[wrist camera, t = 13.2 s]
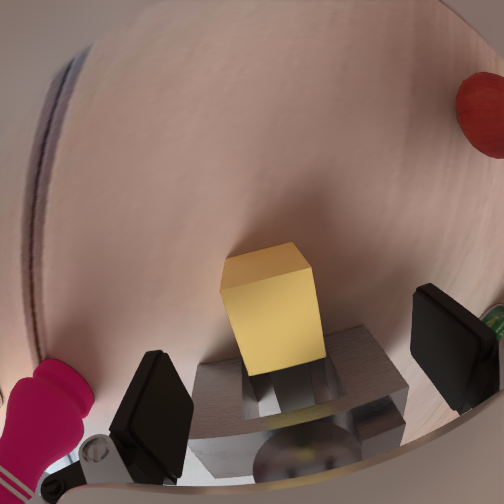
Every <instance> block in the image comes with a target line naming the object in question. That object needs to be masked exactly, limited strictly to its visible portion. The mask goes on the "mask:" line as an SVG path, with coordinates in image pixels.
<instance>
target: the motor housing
mask: <svg viewBox="0 0 504 504" xmlns="http://www.w3.org/2000/svg"><path fill="white" fill-rule="evenodd" d="M323 339H324V346H325V353H326V357H324V360H325V368H326V376H327V384H328V388H329V391H330V393H331V396H332V399H333V400H330V401H327V402H324V403H320V404H316V405H313V406H309V407H305V408H301V409H297V410H293V411H289V412H284V413H280V414H275V415H270V416H265V417H259V407H258V401H257V399H256V396H255V393H254V391H253V388H252V385H251V382H250V380H249V377H248V374H247V371H246V368H245V366H244V363H243V360H242V357H240V358H235V359H229V360H224V361H219V362H213V363H207V364H201V365H198V366H197V371H196V376H195V381H194V386H193V391H192V397H191V399H192V401H193V404H194V412H193V417H192V422H191V428H190V433H189V438H188V443H187V445H188V446H189V448H190V449H191V450H192V452H193V453H194V454H195V455H196V457H197V458H198V459H199V460H200V461H201V463H202V464H203V465H204V466H205V467H206V469H207V470H208V471H209V472H210V473H211V474H212V476H213V477H214V478H230V477H241V476H250V475H253V477H254V480H255V483H264V482H272V481H279V480H285V479H291V478H296V477H301V476H306V475H311V474H316V473H320V472H324V471H328V470H332V469H336V468H339V467H343V466H346V465H350V464H353V463H356V462H359V461H362V460H365V459H368V458H371V457H374V456H377V455H380V454H382V453H385V452H387V451H390V450H393V449H395V448H397V447H400V443H401V440H402V437H403V433H404V429H405V425H406V422H405V421H404V419H403V415H404V411H405V406H406V401H407V395H408V390H409V385H408V384H407V382H406V381H405V379H404V378H403V377H402V375H401V374H400V372H399V371H398V370H397V368H396V367H395V365H394V364H393V363H392V361H391V360H390V359H389V357H388V356H387V354H386V353H385V352H384V350H383V349H382V348H381V346H380V345H379V344H378V342H377V341H376V340H375V338H374V337H373V336H372V334H371V333H370V332H369V330H368V329H367V328H366V326H365V325H361V326H358V327H355V328H352V329H348V330H345V331H342V332H339V333H335V334H332V335H329V336H325V337H323Z"/></svg>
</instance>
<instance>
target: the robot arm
mask: <svg viewBox="0 0 504 504" xmlns="http://www.w3.org/2000/svg"><path fill="white" fill-rule="evenodd" d="M496 338H497V333H496V332H495V331H494V330H492V329H491V328H490V327H489V326H487V325H486V324H485V323H484V322H482V321H481V320H480V319H479V318H477V317H476V316H475V315H474V314H472V313H471V312H470V311H468V310H467V309H466V308H464V307H463V306H462V305H461V304H459V303H458V302H457V301H455V300H454V299H453V298H451V297H450V296H448V295H447V294H446V293H444V292H443V291H442V290H440V289H439V288H437V287H436V286H435V285H433V284H432V283H428V284H425V285H422V286H419V287H418V288H417V289H416V292H414V294H413V311H412V330H411V343H410V352H411V355H412V356H413V358H414V359H415V360H416V362H417V363H418V364H419V366H420V367H421V368H422V370H423V371H424V372H425V373H426V375H427V376H428V377H429V379H430V380H431V381H432V383H433V384H434V386H435V387H436V388H437V390H438V391H439V392H440V394H441V395H442V396H443V398H444V399H445V401H446V402H447V403H448V405H449V406H450V408H451V409H452V410H454V411H455V410H456V411H457V412H458V413H459V415H460V417H458V418H456V419H454V420H453V421H451V422H449V423H447V424H446V425H444V426H442V427H440V428H438V429H436V430H434V431H432V432H430V433H428V434H426V435H424V436H422V437H420V438H418V439H416V440H414V441H411V442H409V443H407V444H405V445H402V446H400V447H397V448H395V449H393V450H390V451H387V452H385V453H382V454H380V455H377V456H374V457H371V458H368V459H365V460H362V461H359V462H356V463H353V464H350V465H346V466H343V467H339V468H336V469H332V470H328V471H324V472H320V473H316V474H311V475H306V476H301V477H296V478H291V479H285V480H279V481H272V482H264V483H256V484H245V485H232V486H166V485H176V484H177V478H180V477H181V476H182V471H183V465H184V460H185V454H186V449H187V443H188V438H189V433H190V428H191V422H192V417H193V412H194V404H193V401H192V399H191V397H190V395H189V394H188V392H187V390H186V388H185V386H184V384H183V383H182V381H181V379H180V377H179V375H178V373H177V371H176V369H175V367H174V365H173V363H172V361H171V359H170V357H169V355H168V354H167V353H164V352H163V351H162V350H155V351H148V352H146V353H145V355H144V357H143V359H142V361H141V363H140V365H139V367H138V369H137V371H136V373H135V375H134V377H133V379H132V381H131V383H130V385H129V387H128V389H127V391H126V393H125V395H124V397H123V400H122V402H121V404H120V406H119V408H118V410H117V412H116V415H115V417H114V419H113V421H112V423H111V425H110V428H109V431H110V435H109V436H107V435H103V434H97V435H93V436H91V437H89V438H88V439H86V440H85V441H84V442H83V443H82V445H81V446H80V448H79V452H78V454H79V460H78V461H77V462H75V463H73V464H71V465H69V466H67V467H65V468H63V469H61V470H59V471H57V472H55V473H53V474H51V475H49V476H48V477H46V478H45V479H44V481H43V483H42V485H41V495H40V494H39V493H37V494H35V495H34V496H33V497H32V498H31V499H30V500H28V501H27V502H26V503H25V504H504V336H503V337H502V338H501V339H500V341H498V340H497V339H496ZM1 406H2V398H1V395H0V408H1ZM471 408H472V409H471ZM470 409H471V410H470ZM469 410H470V411H469ZM467 411H468V412H467ZM465 412H467V413H465ZM464 413H465V414H464ZM462 414H463V415H462ZM163 484H165V485H163Z"/></svg>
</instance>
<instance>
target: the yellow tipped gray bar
mask: <svg viewBox="0 0 504 504" xmlns="http://www.w3.org/2000/svg"><path fill="white" fill-rule="evenodd" d="M220 293H221V296H222V299H223V302H224V305H225V308H226V311H227V314H228V317H229V320H230V323H231V326H232V329H233V332H234V334H235V337H236V340H237V343H238V346H239V349H240V352H241V354H242V357H243V360H244V363H245V365H246V368H247V371H248V374H249V376H252V375H257V374H262V373H266V372H269V375H270V378H271V381H272V384H273V388H274V391H275V394H276V397H277V400H278V403H279V407H280V410H281V413H284V412H289V411H293V410H297V409H301V408H305V407H309V406H313V405H316V404H315V399H314V393H313V388H312V382H311V377H310V372H309V366H308V362H310V361H313V360H317V359H320V358H324V357H326V353H325V346H324V339H323V333H322V326H321V320H320V314H319V308H318V302H317V296H316V290H315V285H314V279H313V274H312V269H311V266H310V265H309V264H308V262H307V261H306V259H305V258H304V257H303V255H302V254H301V253H300V251H299V250H298V249H297V247H296V246H295V245H294V243H293V242H289V243H285V244H281V245H277V246H273V247H269V248H265V249H262V250H258V251H254V252H250V253H246V254H242V255H238V256H234V257H230V258H226V259H225V263H224V269H223V275H222V280H221V286H220Z"/></svg>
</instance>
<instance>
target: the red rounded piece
mask: <svg viewBox="0 0 504 504" xmlns="http://www.w3.org/2000/svg"><path fill="white" fill-rule="evenodd" d="M456 112H457V120H458V123H459V124H460V127H461V129H462V131H463V133H464V135H465V136H466V138H467V139H468V140H469V142H470V143H471V144H472V146H474V147H475V148H476V149H477V150H479V151H480V152H482V153H484V154H485V155H487V156H489V157H493V158H497V159H504V77H502V76H499V75H496V74H492V73H487V72H480V73H475V74H473V75H472V76H470V77H469V78H467V79H466V80H464V81H463V82H462V84H461V86H460V88H459V90H458V93H457V96H456Z"/></svg>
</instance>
